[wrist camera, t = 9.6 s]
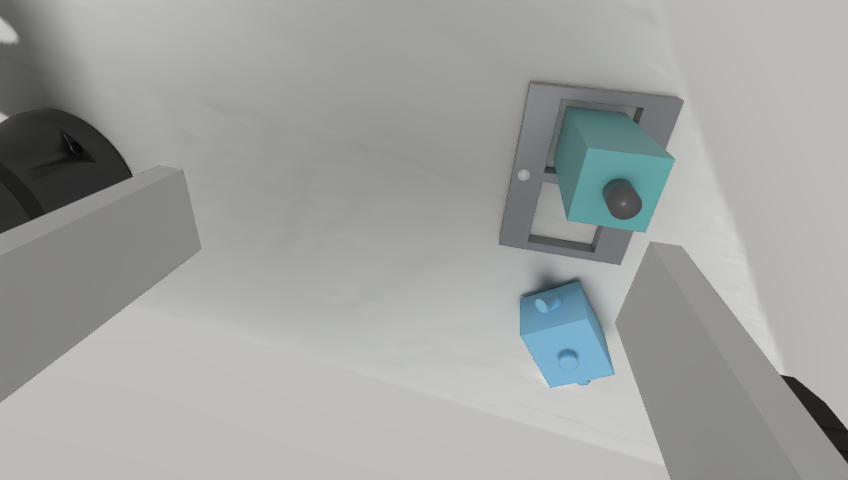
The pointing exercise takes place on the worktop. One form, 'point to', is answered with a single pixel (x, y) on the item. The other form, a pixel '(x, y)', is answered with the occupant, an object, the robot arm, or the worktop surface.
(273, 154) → the worktop surface
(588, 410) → the worktop surface
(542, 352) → the boxy blue kettle
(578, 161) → the plug
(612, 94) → the socket plate
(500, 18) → the worktop surface
